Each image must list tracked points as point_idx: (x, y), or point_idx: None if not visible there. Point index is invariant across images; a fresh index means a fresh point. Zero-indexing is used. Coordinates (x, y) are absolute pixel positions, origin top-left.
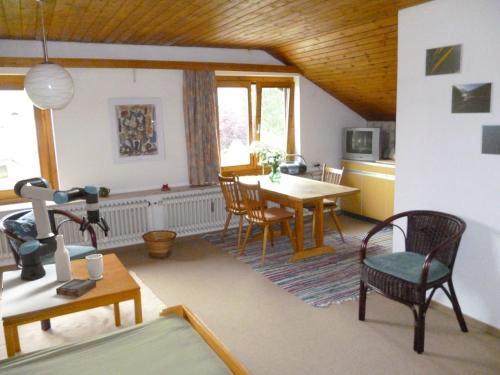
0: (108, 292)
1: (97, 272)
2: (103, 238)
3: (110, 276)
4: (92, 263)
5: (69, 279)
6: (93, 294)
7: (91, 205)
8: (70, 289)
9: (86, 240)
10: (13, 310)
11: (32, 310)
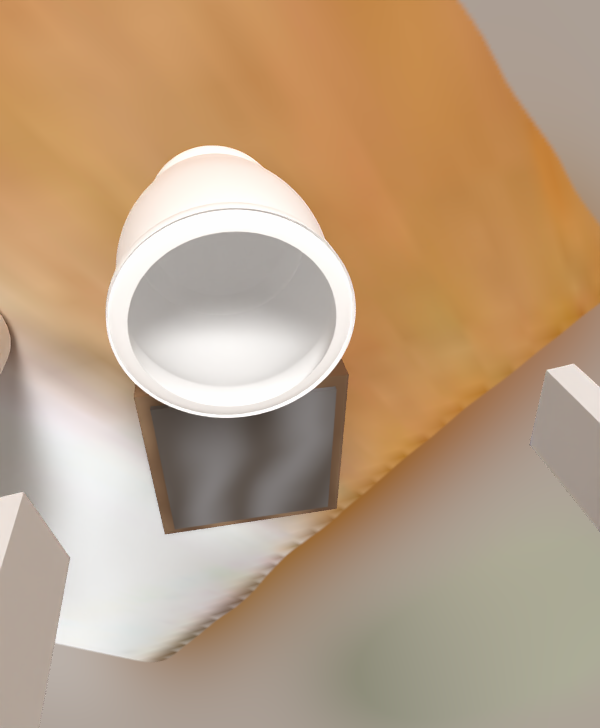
0: (467, 388)
1: (286, 283)
2: (588, 516)
3: (332, 129)
4: (272, 367)
5: (7, 328)
6: (389, 434)
7: None
8: (269, 512)
9: (43, 529)
10: (120, 640)
11: (206, 613)
